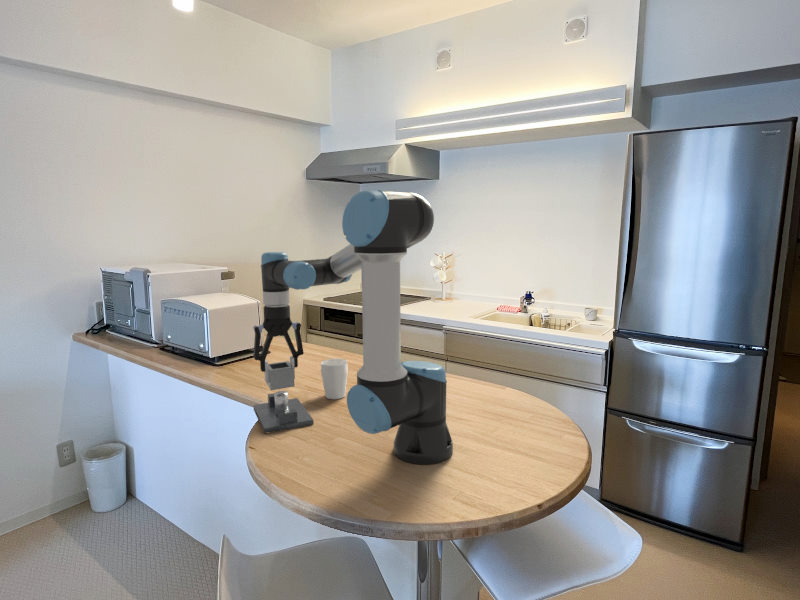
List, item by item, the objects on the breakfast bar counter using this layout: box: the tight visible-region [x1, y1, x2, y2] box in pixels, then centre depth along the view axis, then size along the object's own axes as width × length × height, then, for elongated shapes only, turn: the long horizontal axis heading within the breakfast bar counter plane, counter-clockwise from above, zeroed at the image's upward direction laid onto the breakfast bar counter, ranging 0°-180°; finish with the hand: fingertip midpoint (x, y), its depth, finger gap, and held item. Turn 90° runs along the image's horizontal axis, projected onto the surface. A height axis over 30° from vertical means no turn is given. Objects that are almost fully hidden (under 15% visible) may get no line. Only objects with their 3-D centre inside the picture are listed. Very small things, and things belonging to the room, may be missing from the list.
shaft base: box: [253, 390, 314, 434], centre depth 147 cm, size 20×14×8 cm
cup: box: [320, 358, 349, 400], centre depth 164 cm, size 9×9×12 cm
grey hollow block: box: [266, 360, 295, 391], centre depth 146 cm, size 7×7×6 cm
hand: (279, 379), depth 146 cm, fingers closed on grey hollow block, 7 cm apart
